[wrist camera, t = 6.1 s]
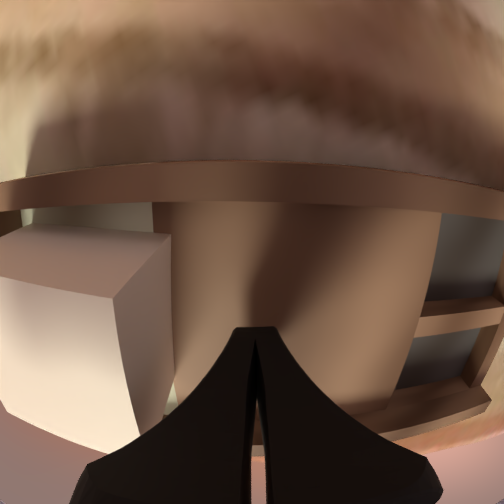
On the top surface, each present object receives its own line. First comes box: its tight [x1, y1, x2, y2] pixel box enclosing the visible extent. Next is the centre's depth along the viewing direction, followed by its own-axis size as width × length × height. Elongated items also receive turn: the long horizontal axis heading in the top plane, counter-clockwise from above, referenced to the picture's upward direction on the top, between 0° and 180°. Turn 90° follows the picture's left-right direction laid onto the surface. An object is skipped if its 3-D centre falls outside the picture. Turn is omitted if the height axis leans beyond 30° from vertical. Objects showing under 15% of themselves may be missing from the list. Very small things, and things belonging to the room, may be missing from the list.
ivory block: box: [0, 223, 175, 454], centre depth 8 cm, size 6×6×4 cm
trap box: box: [0, 160, 504, 456], centre depth 10 cm, size 24×12×3 cm, turn 89°
